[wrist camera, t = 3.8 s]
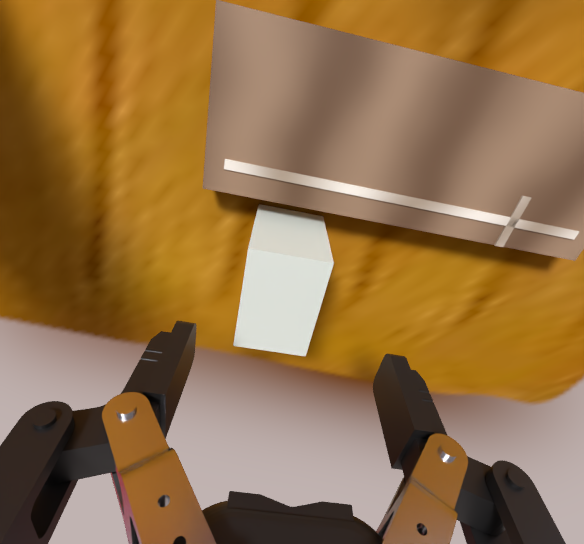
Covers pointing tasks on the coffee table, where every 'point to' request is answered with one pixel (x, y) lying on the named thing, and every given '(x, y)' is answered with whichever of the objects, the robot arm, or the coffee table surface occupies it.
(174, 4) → the coffee table surface
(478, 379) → the coffee table surface
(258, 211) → the block
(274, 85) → the bronze metal plate
